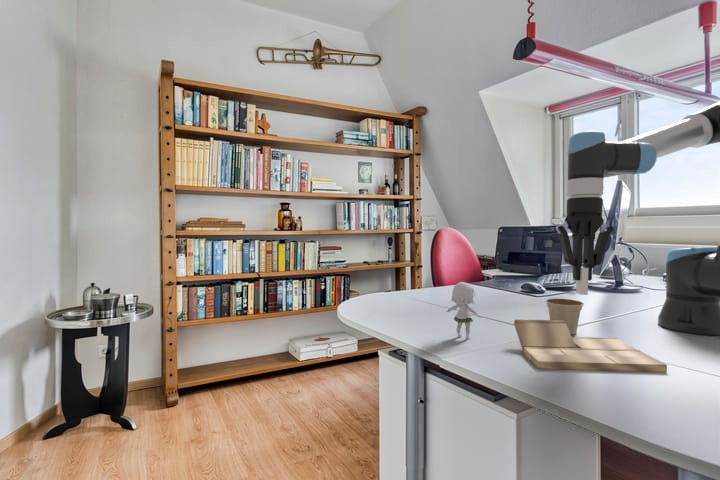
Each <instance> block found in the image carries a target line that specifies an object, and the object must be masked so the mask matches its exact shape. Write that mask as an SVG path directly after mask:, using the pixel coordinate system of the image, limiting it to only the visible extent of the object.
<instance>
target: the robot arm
mask: <svg viewBox="0 0 720 480" xmlns="http://www.w3.org/2000/svg"><path fill="white" fill-rule="evenodd" d="M606 140H607V139H606V134H605V133H604V132H603V131H600V130H586V131H581V132H578V133H575V134H573V135H572V136H570V138H569V141H568V149H567V184H566V185H567V192H566V193H567V194H566V195H567V197H569V198H568V199H566V216H565V219H564V222H562V223H561V224H559V225H555V227H554V230H555V232H556V233H557V234H558V238H559V242H560V243H559V244H560V247H561V252H562V256H563V260H564V263H565V264H566V265H569V266H571V267H572V279H573V280H574V281H575V293H576V294H578V295H581V296H583V295H584V296H587V295H588V293H589V292H588V291H589V281H592V280H593V279H592V278H593V269H594V268H595V267H596V266H600V265H601V264H602V262H603V259H604V255H605V251H606V248H607V245H608V241H609V237H610V236H611V234H612V232H613V231H614V230H615V229H614V226H613V225H608V224H607V223H605V221H604V218H603V216H602V215H603V214H602V213H603V209H604V207H603V206H604V199H603V198H602V197H601V196H603V195H604V178H609V177H615V176H620V175H640V174H647V173H648V172H649V171H651V170H652V169H653V167H654V166H655V164H656V162H657V159H658V158H661V157H664V156H667V155H670V154H674V153H676V152H680V151H682V150H685V149H688V148H693V149H694V148H695V149H696V148H701V147H704V146H708V145H712V144H717V143H720V101H718V102H716V103H714V104H712V105H710V106H707V107H705V108H703V109H701V110H699V111H698V110H697V112H693V113H690V114H687V115H686V116H685V117H684V118H682V119H681V121H678V122H676V123H672V124H670V125H667V126H663V127H661V128H657V129H655V130H651V131H649V132H646V133H642V134H639V135H637V136H635V137H631V138H629V139H625V140H623V141H608V140H607V141H606ZM568 231H570V232H571V233H572V234H571V238H572V244H571V241H570V237H569V233H568ZM598 231H599V233H598ZM596 233H598V234H597V238H596ZM595 239H596V242H595ZM571 245H572V246H571ZM665 264H666V265H665V267H666V268H665V269H666V271H665V272H666V278H665V281H666V283H665V286H666V287H665V290H666V291H665V301H664V303H663V305H662V307H661V310H660V312H659V314H658V317H657V325H659V326H660V327H663V328H666V329H669V330H673V331H677V332H682V333H688V334H694V335H695V334H696V335H703V336H705V335H706V336H720V243H718V244H717V246H716V247H715V246H714V247H713V246H709V247H708V246H705V247H702V246H701V247H685V248H675V249H674V248H673V249H671V250H669V251H668V252H667V256H666V262H665Z"/></svg>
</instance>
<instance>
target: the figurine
mask: <svg viewBox="0 0 720 480" xmlns="http://www.w3.org/2000/svg"><path fill="white" fill-rule="evenodd" d="M474 297H476V292H475V290H474V288H473V286H472V285H471V284H470V283H467V282H466V281H465V282H464V281H459V282H458V283H456V284H455V285H454V286H453V288H452V295H451V301H450V302H453V303H454V305H452V307H449V309H448V310H446V311H445V313H450V312H451V311H455V310H457V309H458V308H459V310H458V312H457V313H456V314H455V315H454V318H453V320H454V321H455V322H457V326H456V333H457V338H458V339H459V338H462V335H461V329H462V327H463V323H464V326H465V330H464V331H465V340H470V339H471V338H470V337H469V336H470V333H471V323H473V322H474V320H473V315H472V314H474V315H475V316H476V317H478V318H479V319H482V317H481V315H479V314H478V313H477V312H476V311H475V310H474V308H472V307H471V306H470V305H471V304H472V305H474V304H475V303H474ZM471 313H472V314H471Z"/></svg>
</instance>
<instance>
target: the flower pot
mask: <svg viewBox="0 0 720 480" xmlns="http://www.w3.org/2000/svg"><path fill="white" fill-rule="evenodd" d="M545 303H546V307H547V309H548V315H549V316H548V317H549V320H564V321H565V323H566V325H567V327H568V330H569V332H570V334H571V335H572V336H575V335H576V334H577V332H578V331H577V330H578V325H579V319H580V316H581V315H580V314H581V311H582V309H583V306H584V305H585V302H582V301H581V300H576V299H571V298H570V299H569V298H558V297H557V298H547V299H545Z"/></svg>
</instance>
